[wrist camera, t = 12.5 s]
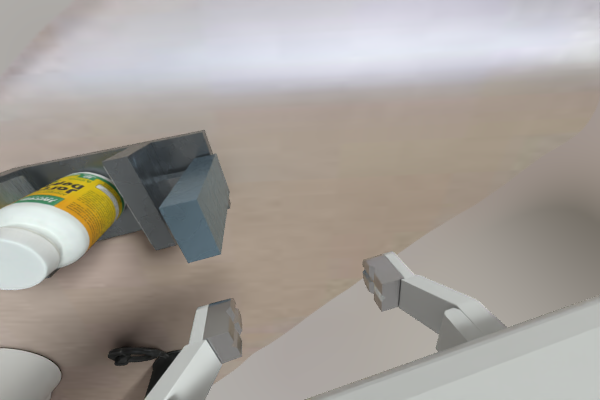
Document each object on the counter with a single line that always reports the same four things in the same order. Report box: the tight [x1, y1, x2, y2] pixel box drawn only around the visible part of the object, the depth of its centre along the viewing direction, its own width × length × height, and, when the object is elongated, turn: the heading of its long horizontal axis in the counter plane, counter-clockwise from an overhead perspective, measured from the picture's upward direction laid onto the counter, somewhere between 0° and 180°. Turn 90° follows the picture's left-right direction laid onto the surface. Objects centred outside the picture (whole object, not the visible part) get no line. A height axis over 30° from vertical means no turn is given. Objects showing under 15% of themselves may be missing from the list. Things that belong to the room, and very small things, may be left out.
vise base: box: [0, 130, 231, 279], centre depth 24 cm, size 20×10×7 cm, turn 99°
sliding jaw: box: [102, 143, 229, 263], centre depth 21 cm, size 9×10×12 cm
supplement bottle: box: [0, 172, 126, 290], centre depth 20 cm, size 6×6×11 cm
